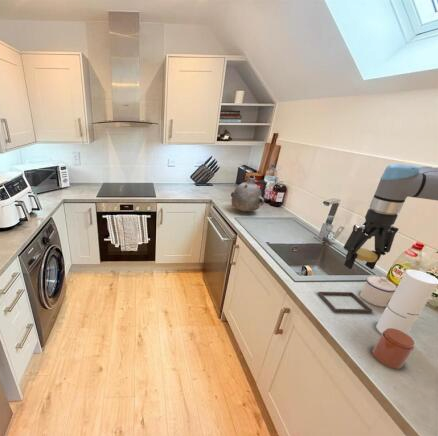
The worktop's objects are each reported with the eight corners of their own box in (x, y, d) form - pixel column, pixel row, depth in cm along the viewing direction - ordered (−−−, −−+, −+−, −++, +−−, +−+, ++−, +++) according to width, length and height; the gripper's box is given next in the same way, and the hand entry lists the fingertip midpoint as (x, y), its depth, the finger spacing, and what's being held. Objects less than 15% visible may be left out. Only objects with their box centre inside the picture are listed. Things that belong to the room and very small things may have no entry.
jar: (386, 350, 77) (400, 327, 73) (407, 370, 71) (423, 347, 67) (365, 349, 78) (378, 326, 73) (384, 370, 71) (399, 346, 67)
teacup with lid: (392, 311, 93) (405, 287, 88) (363, 304, 96) (374, 281, 91) (378, 292, 103) (389, 270, 99) (353, 286, 106) (362, 265, 102)
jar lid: (357, 260, 85) (358, 256, 84) (345, 250, 91) (347, 246, 91) (381, 263, 83) (383, 259, 83) (367, 252, 90) (369, 248, 89)
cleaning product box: (258, 201, 213) (262, 179, 205) (262, 204, 204) (266, 182, 196) (239, 201, 213) (243, 179, 205) (242, 204, 205) (246, 182, 197)
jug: (227, 214, 185) (232, 176, 173) (229, 205, 203) (234, 170, 191) (261, 219, 177) (269, 179, 164) (260, 209, 195) (267, 173, 183)
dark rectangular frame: (350, 296, 101) (352, 292, 100) (370, 314, 91) (372, 310, 91) (317, 295, 101) (318, 291, 100) (333, 313, 92) (335, 309, 91)
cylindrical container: (407, 345, 79) (445, 286, 69) (381, 338, 81) (414, 280, 71) (395, 328, 85) (429, 272, 75) (371, 323, 88) (400, 267, 78)
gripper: (402, 207, 83) (376, 261, 92) (344, 206, 83) (324, 260, 93) (425, 215, 76) (394, 273, 85) (361, 214, 77) (338, 272, 86)
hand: (358, 266), depth 89 cm, fingers closed on jar lid, 7 cm apart
